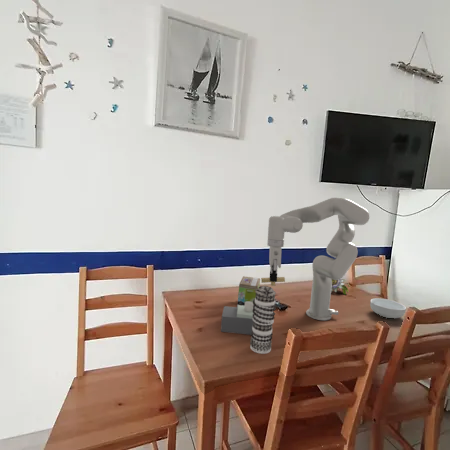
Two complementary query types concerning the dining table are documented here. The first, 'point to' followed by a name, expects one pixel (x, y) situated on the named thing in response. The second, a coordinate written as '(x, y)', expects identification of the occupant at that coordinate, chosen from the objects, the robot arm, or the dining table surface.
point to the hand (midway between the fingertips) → (273, 280)
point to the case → (235, 322)
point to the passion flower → (339, 285)
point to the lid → (245, 310)
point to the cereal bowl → (387, 308)
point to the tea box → (247, 290)
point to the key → (265, 280)
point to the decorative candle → (263, 320)
